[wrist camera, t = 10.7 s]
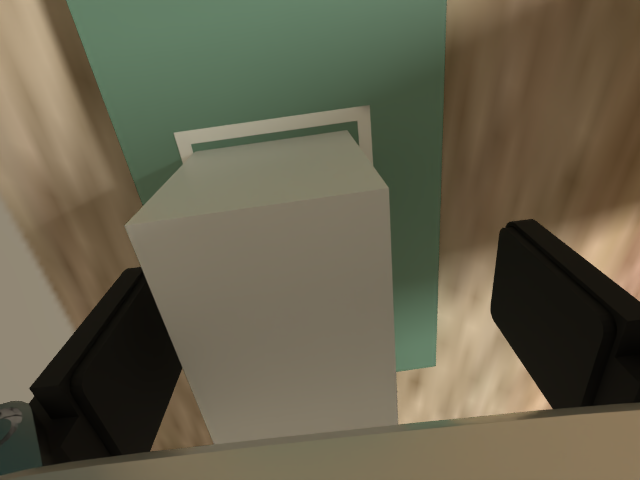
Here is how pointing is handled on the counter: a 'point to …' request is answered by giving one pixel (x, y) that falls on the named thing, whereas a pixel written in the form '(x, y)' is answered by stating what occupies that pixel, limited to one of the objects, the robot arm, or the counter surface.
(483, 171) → the counter surface
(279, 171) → the plug cap
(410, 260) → the header board
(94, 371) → the robot arm
